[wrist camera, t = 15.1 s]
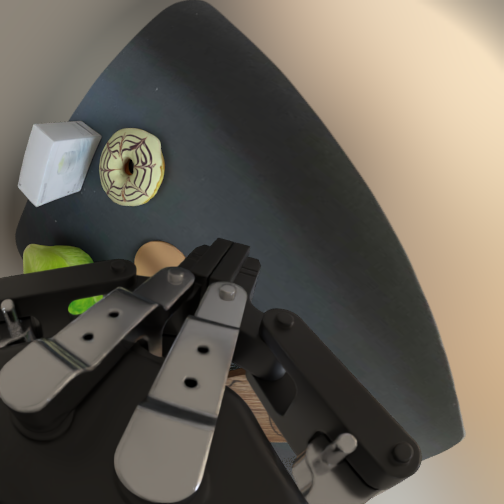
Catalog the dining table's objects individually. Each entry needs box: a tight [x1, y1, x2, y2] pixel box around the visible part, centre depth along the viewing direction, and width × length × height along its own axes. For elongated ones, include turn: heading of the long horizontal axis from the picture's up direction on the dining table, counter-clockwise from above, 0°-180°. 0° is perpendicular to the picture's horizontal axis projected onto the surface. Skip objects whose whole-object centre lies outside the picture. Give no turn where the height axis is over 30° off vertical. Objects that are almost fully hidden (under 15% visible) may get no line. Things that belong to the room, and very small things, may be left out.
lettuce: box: [23, 244, 103, 315], centre depth 38 cm, size 15×20×14 cm
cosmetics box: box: [18, 121, 102, 207], centre depth 31 cm, size 10×6×10 cm, turn 144°
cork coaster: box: [135, 241, 185, 277], centre depth 40 cm, size 10×10×1 cm
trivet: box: [226, 368, 287, 442], centre depth 48 cm, size 25×25×2 cm
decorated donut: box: [99, 128, 165, 206], centre depth 33 cm, size 10×11×4 cm
